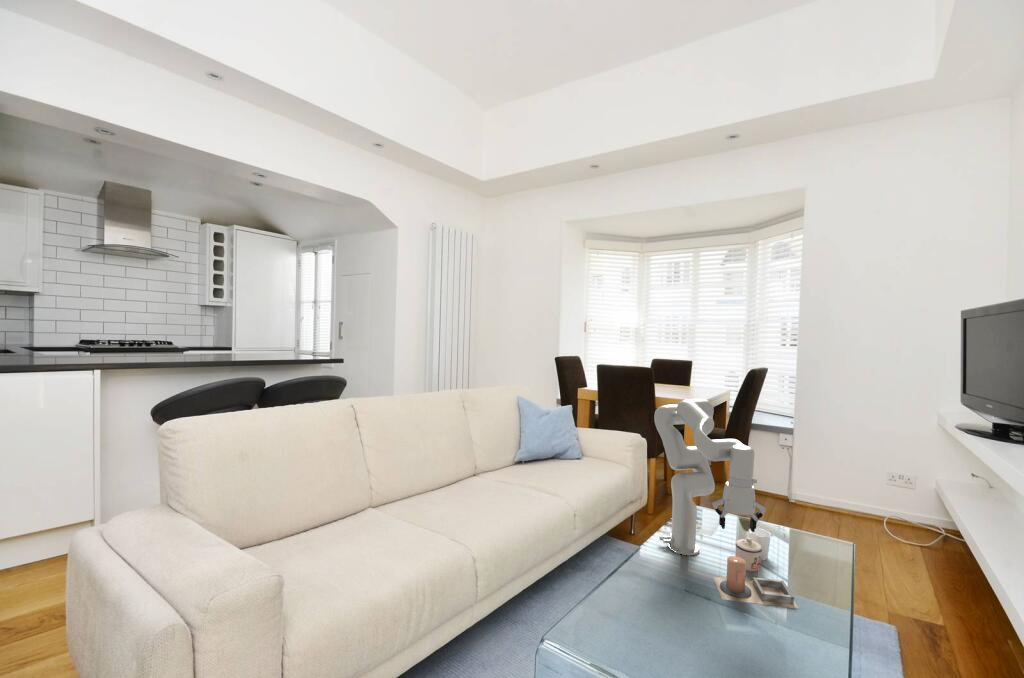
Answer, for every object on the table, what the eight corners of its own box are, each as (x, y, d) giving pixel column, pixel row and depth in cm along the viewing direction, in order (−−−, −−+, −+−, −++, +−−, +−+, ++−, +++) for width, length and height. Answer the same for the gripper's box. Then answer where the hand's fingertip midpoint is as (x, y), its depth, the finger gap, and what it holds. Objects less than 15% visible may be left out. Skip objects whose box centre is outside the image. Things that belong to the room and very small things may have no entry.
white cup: (764, 551, 199) (765, 528, 198) (772, 562, 191) (774, 537, 191) (744, 550, 200) (745, 527, 199) (751, 560, 192) (753, 536, 191)
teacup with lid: (755, 576, 180) (757, 546, 180) (730, 567, 187) (732, 537, 186) (767, 565, 189) (768, 536, 188) (742, 556, 195) (744, 528, 194)
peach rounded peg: (724, 582, 173) (725, 555, 173) (742, 584, 172) (743, 557, 172) (729, 594, 166) (731, 566, 165) (748, 596, 165) (749, 568, 164)
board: (721, 602, 164) (722, 592, 164) (712, 579, 178) (713, 570, 178) (799, 612, 160) (799, 601, 160) (783, 587, 174) (784, 577, 173)
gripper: (763, 479, 170) (760, 526, 172) (711, 475, 173) (708, 521, 175) (770, 487, 163) (767, 536, 164) (716, 482, 166) (713, 531, 168)
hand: (737, 528), depth 170 cm, fingers open, 9 cm apart
